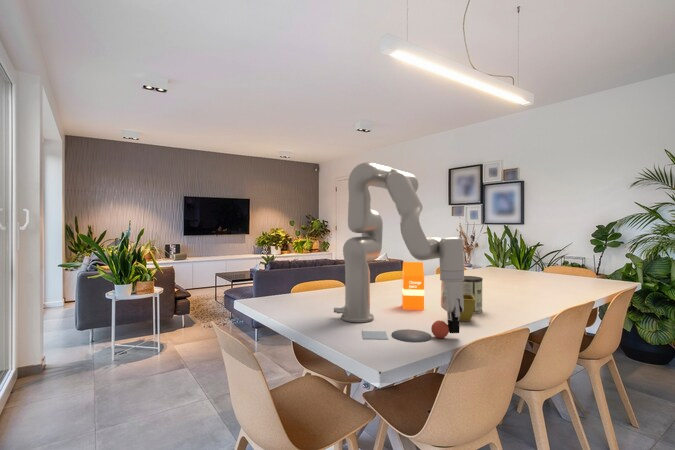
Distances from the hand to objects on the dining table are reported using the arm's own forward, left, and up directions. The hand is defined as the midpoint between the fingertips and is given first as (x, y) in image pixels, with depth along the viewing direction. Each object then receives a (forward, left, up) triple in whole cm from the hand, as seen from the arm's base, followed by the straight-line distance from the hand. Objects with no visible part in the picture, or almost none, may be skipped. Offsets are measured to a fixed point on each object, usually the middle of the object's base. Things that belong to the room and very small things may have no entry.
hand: (453, 332), depth 119 cm
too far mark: (-25, +2, -2) cm, 25 cm away
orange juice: (-5, +43, -2) cm, 43 cm away
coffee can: (+18, +38, -2) cm, 42 cm away
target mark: (-13, +2, -2) cm, 14 cm away
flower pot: (+10, +23, -2) cm, 25 cm away
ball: (-4, 0, +1) cm, 4 cm away
